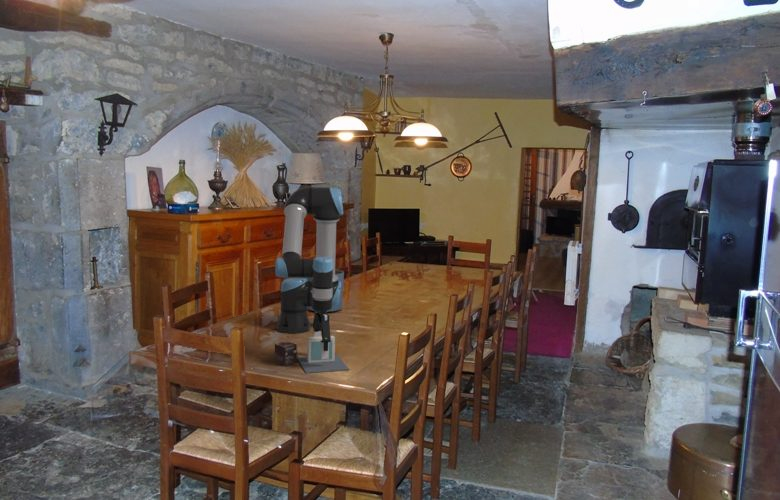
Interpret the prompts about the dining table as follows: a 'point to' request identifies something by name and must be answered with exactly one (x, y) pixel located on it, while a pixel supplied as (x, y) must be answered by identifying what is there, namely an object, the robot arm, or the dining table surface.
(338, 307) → the planter
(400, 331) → the dining table surface
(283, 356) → the box
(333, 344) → the light grey flat block
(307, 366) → the mat
